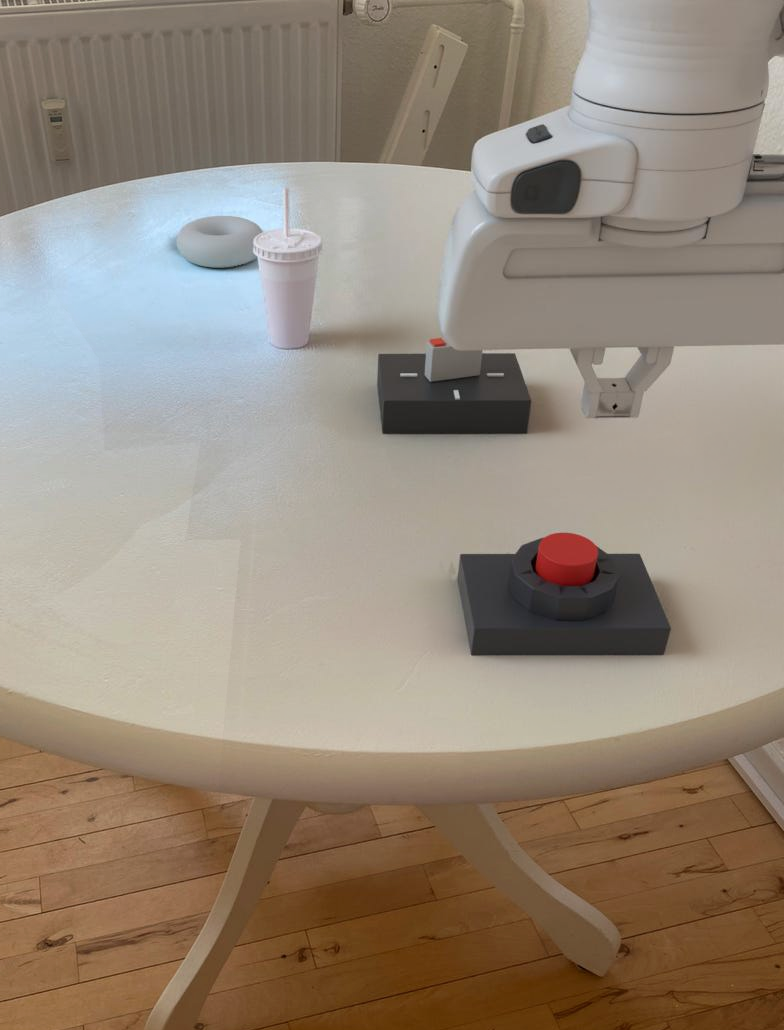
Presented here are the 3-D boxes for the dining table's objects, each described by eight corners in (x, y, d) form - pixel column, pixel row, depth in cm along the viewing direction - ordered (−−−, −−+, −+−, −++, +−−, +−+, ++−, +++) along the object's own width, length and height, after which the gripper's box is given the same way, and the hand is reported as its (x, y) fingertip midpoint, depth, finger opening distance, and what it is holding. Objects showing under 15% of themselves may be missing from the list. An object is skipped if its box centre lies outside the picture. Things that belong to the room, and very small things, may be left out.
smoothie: (315, 325, 105) (316, 176, 96) (328, 352, 100) (329, 198, 91) (252, 329, 104) (246, 181, 95) (261, 357, 99) (256, 203, 90)
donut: (165, 250, 122) (195, 277, 115) (163, 219, 120) (192, 245, 113) (246, 237, 125) (279, 263, 118) (245, 207, 123) (278, 232, 116)
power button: (587, 554, 68) (591, 532, 67) (599, 588, 65) (603, 565, 64) (531, 554, 68) (534, 532, 67) (540, 588, 65) (544, 565, 64)
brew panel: (511, 384, 95) (515, 351, 93) (527, 433, 88) (532, 398, 86) (376, 385, 95) (378, 351, 93) (382, 433, 88) (383, 398, 86)
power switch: (633, 579, 72) (645, 530, 69) (664, 655, 66) (678, 605, 63) (457, 580, 72) (462, 530, 69) (470, 656, 66) (477, 605, 63)
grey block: (473, 368, 90) (477, 332, 88) (480, 375, 89) (484, 339, 87) (424, 375, 89) (426, 338, 87) (430, 382, 88) (432, 345, 86)
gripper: (844, 135, 54) (772, 385, 63) (442, 143, 54) (427, 391, 63) (897, 171, 49) (812, 437, 58) (456, 180, 49) (438, 444, 58)
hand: (608, 413), depth 60 cm, fingers closed
